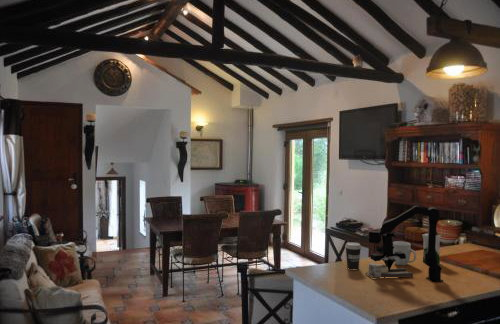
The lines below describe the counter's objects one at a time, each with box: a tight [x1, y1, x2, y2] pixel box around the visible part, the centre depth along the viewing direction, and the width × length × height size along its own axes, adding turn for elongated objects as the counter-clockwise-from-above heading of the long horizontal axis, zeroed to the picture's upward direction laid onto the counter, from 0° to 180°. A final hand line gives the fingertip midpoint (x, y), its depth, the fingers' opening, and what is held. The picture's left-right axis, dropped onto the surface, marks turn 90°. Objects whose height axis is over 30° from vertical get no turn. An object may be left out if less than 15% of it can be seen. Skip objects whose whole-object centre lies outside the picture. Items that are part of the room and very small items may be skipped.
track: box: [365, 262, 414, 278], centre depth 224 cm, size 9×24×6 cm, turn 98°
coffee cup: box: [344, 241, 362, 270], centre depth 237 cm, size 10×10×15 cm
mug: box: [393, 240, 417, 266], centre depth 245 cm, size 15×11×13 cm
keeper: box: [376, 263, 388, 274], centre depth 223 cm, size 6×5×4 cm
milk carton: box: [421, 230, 442, 265], centre depth 248 cm, size 9×9×20 cm
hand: (388, 271), depth 224 cm, fingers closed
